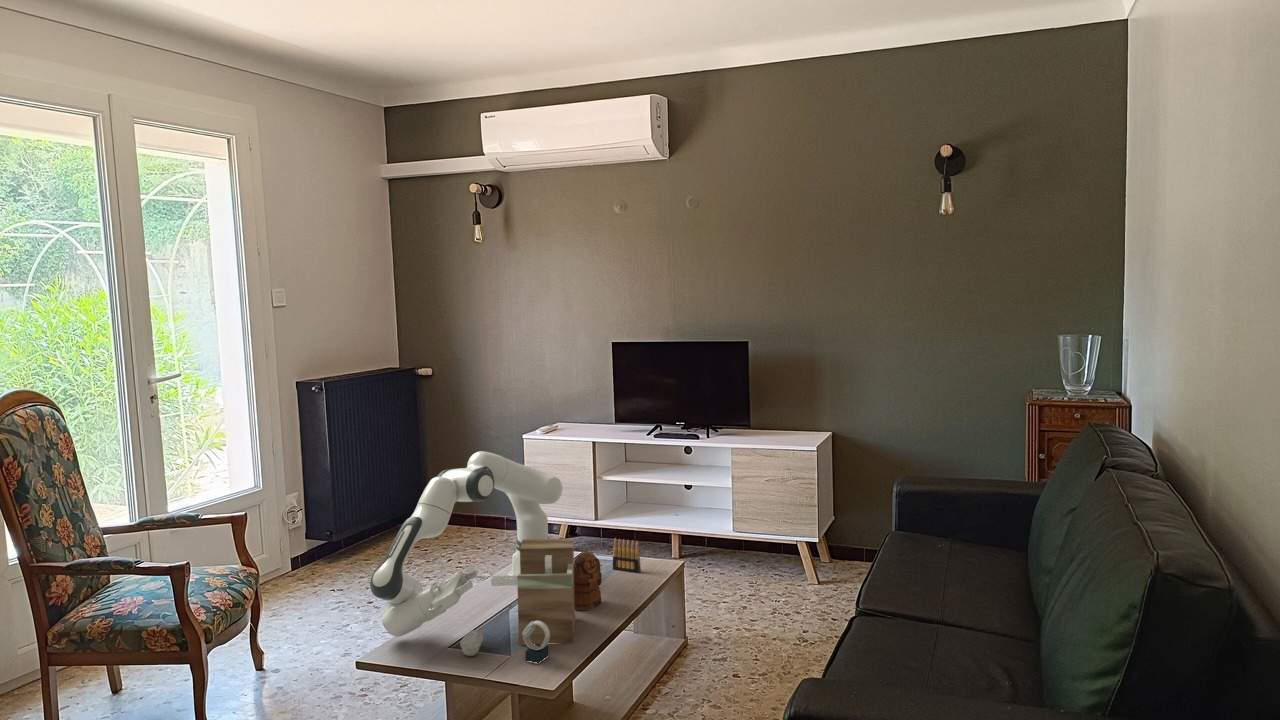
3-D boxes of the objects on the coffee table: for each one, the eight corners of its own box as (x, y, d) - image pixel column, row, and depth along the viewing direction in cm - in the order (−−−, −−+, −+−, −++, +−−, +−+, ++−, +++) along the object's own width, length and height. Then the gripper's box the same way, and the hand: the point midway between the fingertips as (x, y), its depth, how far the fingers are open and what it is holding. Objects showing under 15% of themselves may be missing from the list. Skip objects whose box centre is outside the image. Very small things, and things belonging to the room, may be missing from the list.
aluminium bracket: (492, 582, 265) (491, 556, 264) (552, 580, 266) (552, 555, 265) (491, 585, 262) (490, 559, 261) (552, 584, 263) (551, 558, 262)
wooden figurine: (585, 613, 285) (584, 559, 283) (569, 609, 288) (568, 556, 286) (605, 601, 295) (604, 549, 293) (590, 598, 298) (589, 546, 296)
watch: (530, 652, 255) (529, 616, 254) (554, 657, 252) (553, 620, 251) (519, 660, 250) (518, 623, 249) (543, 665, 247) (543, 627, 246)
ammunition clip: (612, 569, 327) (612, 538, 326) (614, 568, 329) (614, 536, 328) (638, 573, 323) (638, 541, 322) (640, 571, 325) (640, 540, 324)
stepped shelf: (524, 619, 281) (522, 539, 278) (574, 617, 281) (573, 538, 279) (518, 645, 261) (516, 559, 258) (573, 643, 261) (571, 558, 259)
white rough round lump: (487, 654, 254) (487, 631, 254) (467, 662, 250) (466, 638, 249) (476, 648, 259) (475, 625, 258) (455, 655, 254) (454, 632, 253)
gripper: (421, 605, 252) (463, 581, 252) (434, 581, 273) (472, 558, 273) (433, 623, 253) (474, 599, 253) (445, 598, 273) (483, 575, 273)
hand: (473, 577), depth 263 cm, fingers open, 8 cm apart
